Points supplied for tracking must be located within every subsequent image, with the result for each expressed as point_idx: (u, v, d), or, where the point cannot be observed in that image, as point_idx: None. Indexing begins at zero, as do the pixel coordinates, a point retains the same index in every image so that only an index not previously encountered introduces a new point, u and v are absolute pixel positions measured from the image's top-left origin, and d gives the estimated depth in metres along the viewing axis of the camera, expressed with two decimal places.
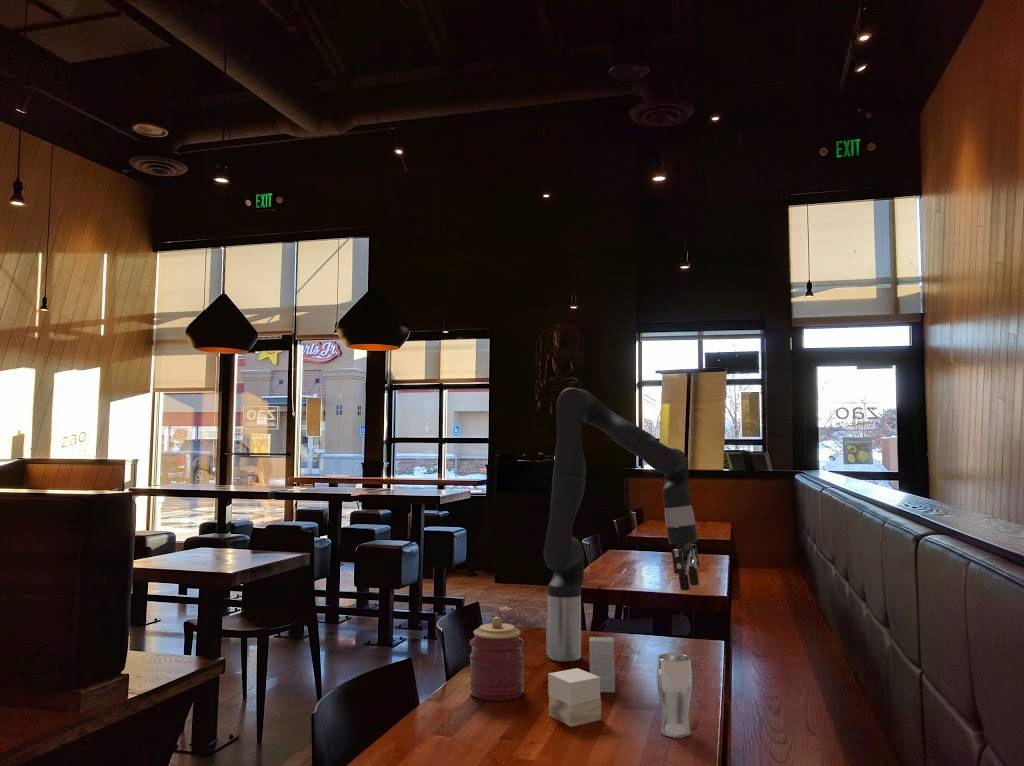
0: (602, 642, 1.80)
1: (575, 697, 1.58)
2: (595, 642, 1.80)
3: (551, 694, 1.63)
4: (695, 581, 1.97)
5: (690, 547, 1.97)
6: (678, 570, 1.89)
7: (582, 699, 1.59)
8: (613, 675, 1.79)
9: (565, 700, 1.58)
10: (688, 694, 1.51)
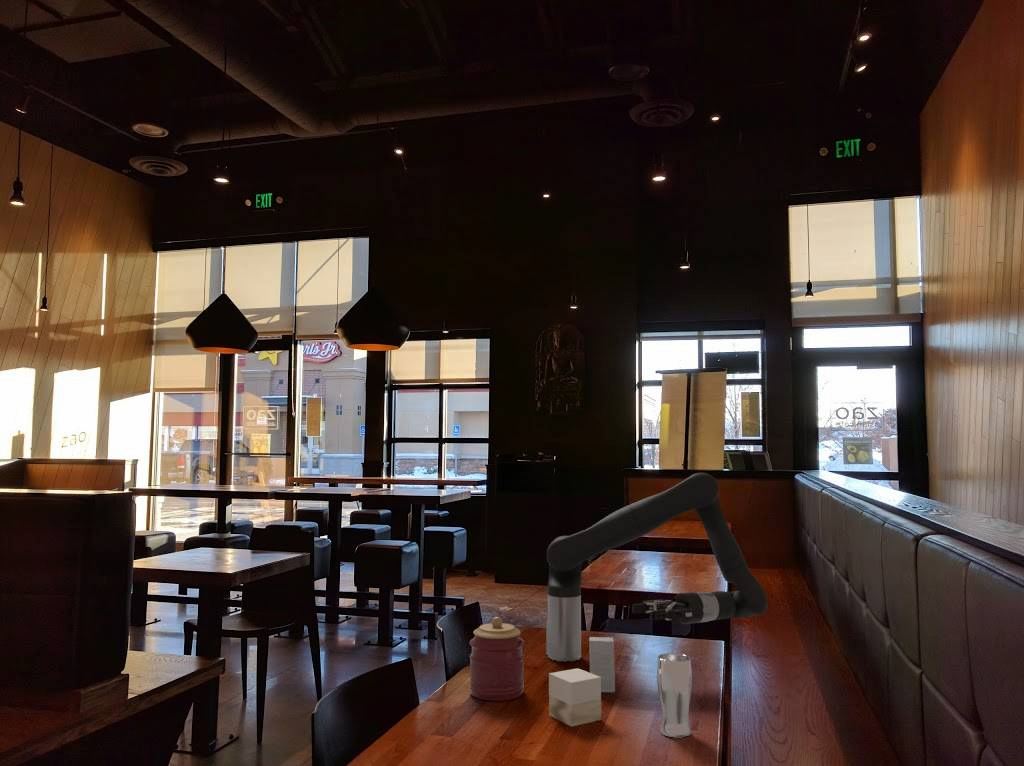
0: (602, 642, 1.80)
1: (576, 697, 1.58)
2: (595, 642, 1.80)
3: (552, 694, 1.62)
4: (636, 610, 1.91)
5: None
6: (675, 615, 1.82)
7: (583, 699, 1.59)
8: (613, 675, 1.79)
9: (566, 700, 1.58)
10: (688, 694, 1.51)
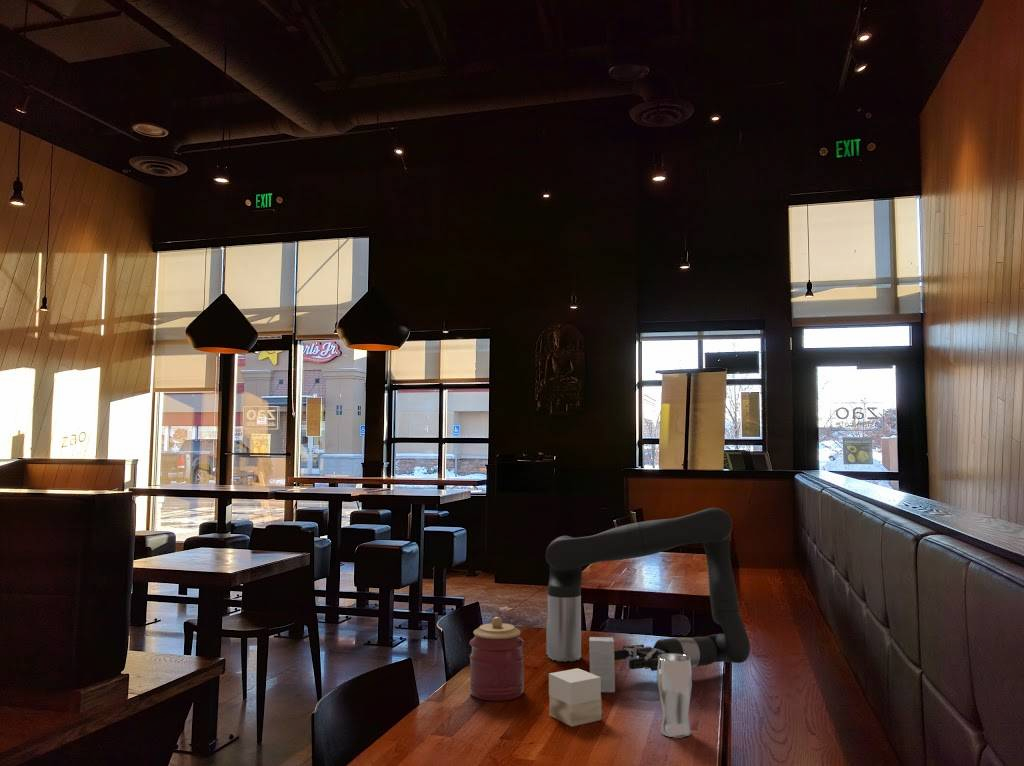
0: (602, 642, 1.80)
1: (576, 697, 1.58)
2: (595, 642, 1.80)
3: (551, 694, 1.63)
4: (616, 656, 1.87)
5: None
6: (654, 664, 1.79)
7: (582, 699, 1.59)
8: (613, 675, 1.79)
9: (565, 700, 1.58)
10: (688, 694, 1.51)
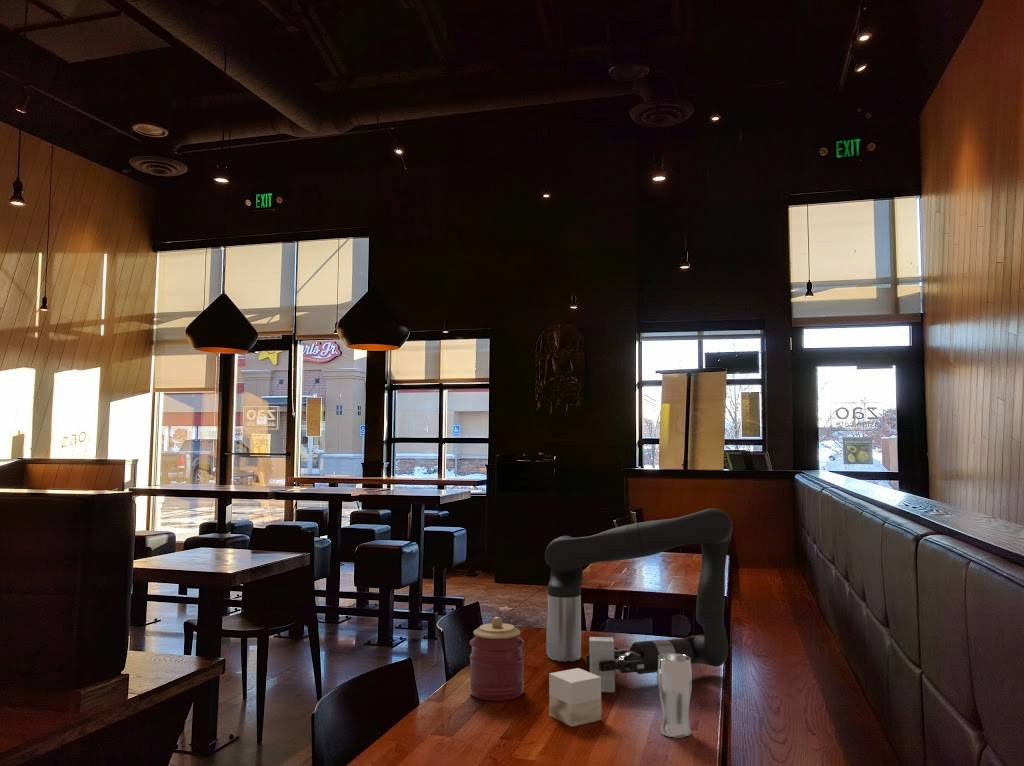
0: (602, 642, 1.80)
1: (576, 697, 1.58)
2: (595, 642, 1.80)
3: (552, 694, 1.63)
4: None
5: None
6: (624, 666, 1.77)
7: (583, 699, 1.59)
8: (613, 675, 1.79)
9: (566, 700, 1.58)
10: (688, 694, 1.51)
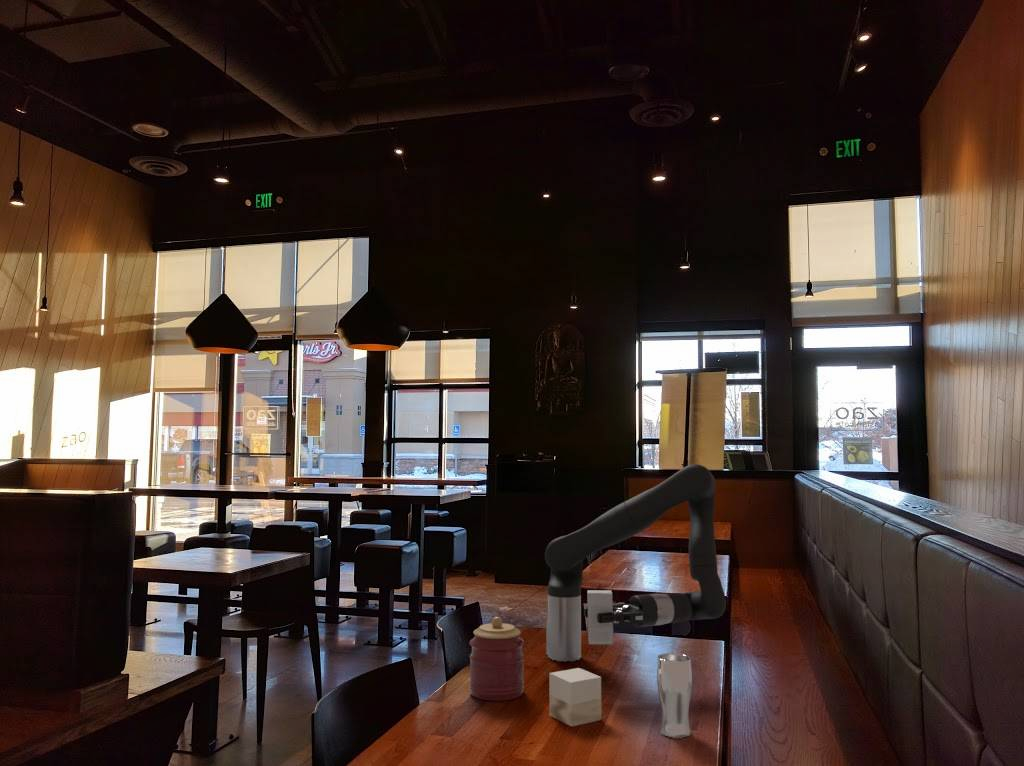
0: (600, 594, 1.79)
1: (576, 697, 1.58)
2: (593, 594, 1.79)
3: (552, 693, 1.63)
4: None
5: None
6: (623, 618, 1.76)
7: (583, 699, 1.59)
8: (611, 627, 1.78)
9: (566, 700, 1.59)
10: (688, 694, 1.51)
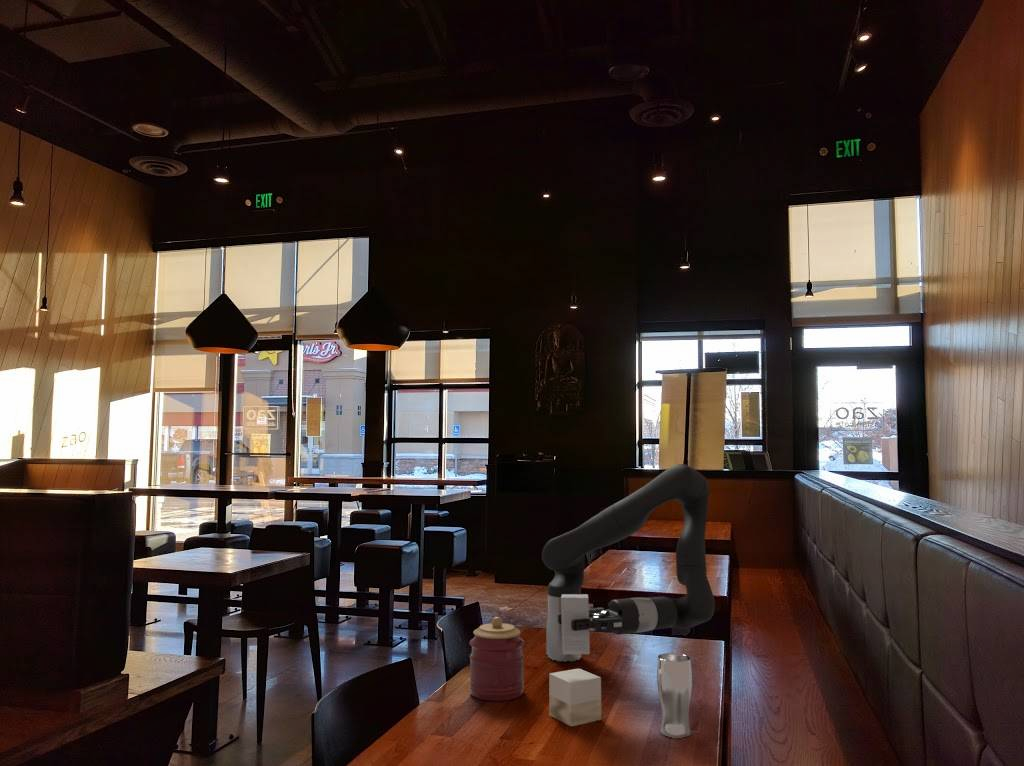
0: (575, 599, 1.62)
1: (575, 697, 1.58)
2: (567, 599, 1.62)
3: (552, 694, 1.63)
4: None
5: None
6: (600, 625, 1.59)
7: (582, 699, 1.59)
8: (587, 635, 1.61)
9: (565, 700, 1.58)
10: (688, 694, 1.51)
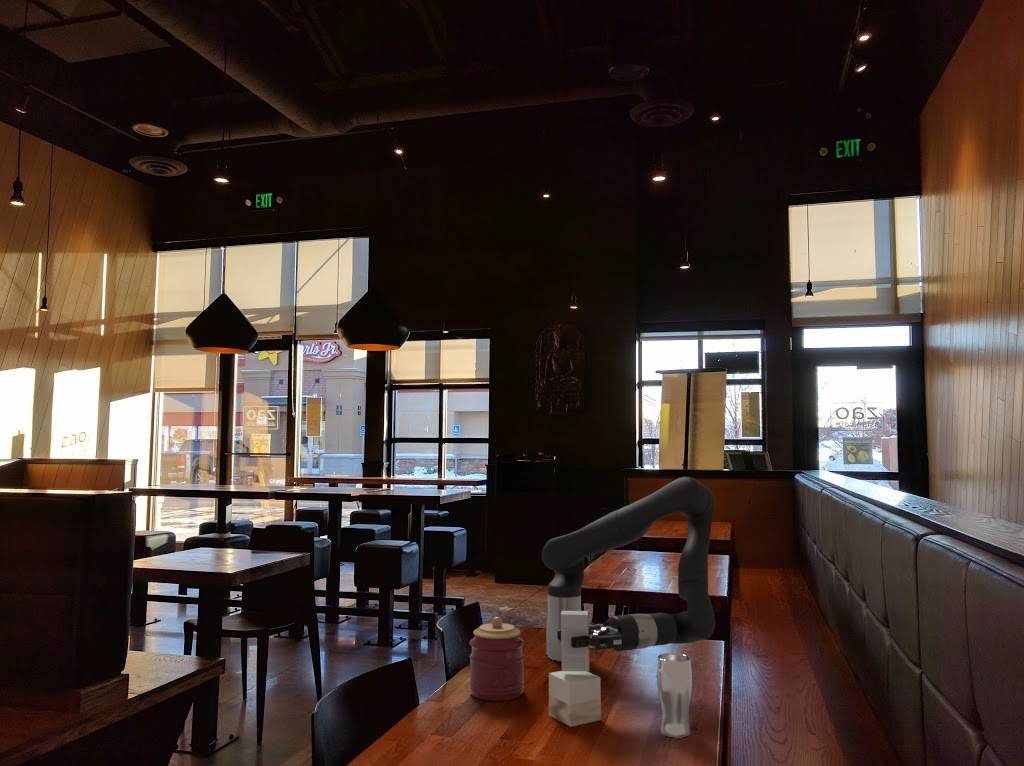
0: (575, 616, 1.62)
1: (575, 697, 1.58)
2: (567, 616, 1.62)
3: (551, 694, 1.63)
4: None
5: None
6: (599, 642, 1.59)
7: (582, 699, 1.59)
8: (587, 652, 1.61)
9: (565, 700, 1.58)
10: (688, 694, 1.51)
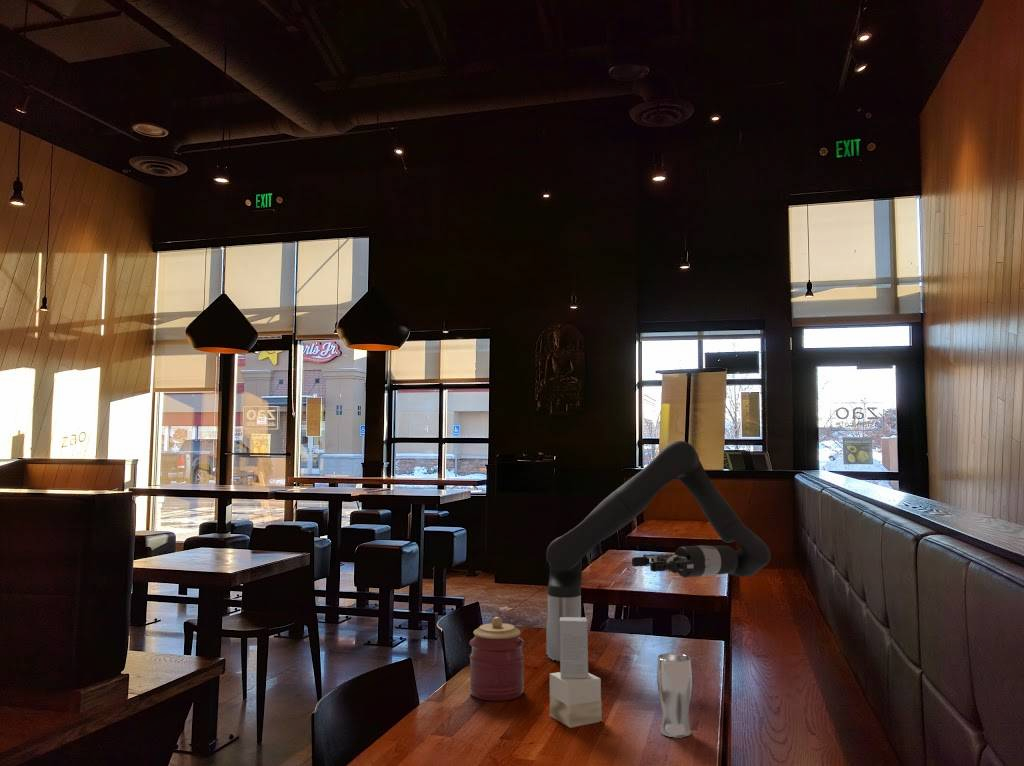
0: (574, 622, 1.61)
1: (573, 698, 1.57)
2: (566, 622, 1.61)
3: (552, 694, 1.62)
4: (636, 563, 1.86)
5: None
6: (676, 566, 1.77)
7: (581, 700, 1.58)
8: (586, 659, 1.60)
9: (564, 700, 1.58)
10: (688, 694, 1.51)
